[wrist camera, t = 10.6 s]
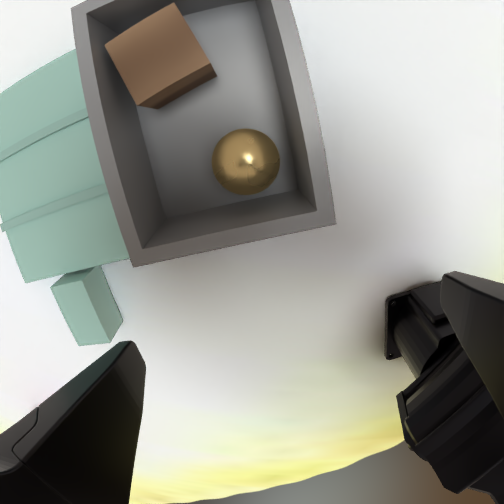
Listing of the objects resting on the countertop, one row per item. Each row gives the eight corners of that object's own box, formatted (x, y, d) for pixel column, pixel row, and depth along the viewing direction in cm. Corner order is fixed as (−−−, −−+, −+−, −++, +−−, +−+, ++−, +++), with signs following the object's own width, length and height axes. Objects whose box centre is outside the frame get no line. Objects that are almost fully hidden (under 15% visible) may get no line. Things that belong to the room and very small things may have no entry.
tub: (310, 196, 20) (336, 224, 15) (161, 229, 21) (133, 267, 15) (264, -7, 15) (272, -52, 9) (113, 33, 15) (70, 8, 10)
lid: (166, 313, 23) (157, 336, 20) (60, 329, 24) (45, 348, 21) (94, 49, 16) (74, 39, 13) (-9, 109, 17) (-33, 110, 14)
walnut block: (217, 76, 16) (210, 62, 13) (158, 109, 17) (136, 105, 13) (187, 25, 15) (174, 2, 11) (130, 58, 16) (104, 44, 12)
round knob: (277, 175, 19) (286, 187, 15) (225, 186, 19) (220, 201, 15) (266, 123, 18) (272, 122, 14) (212, 135, 18) (204, 137, 14)
